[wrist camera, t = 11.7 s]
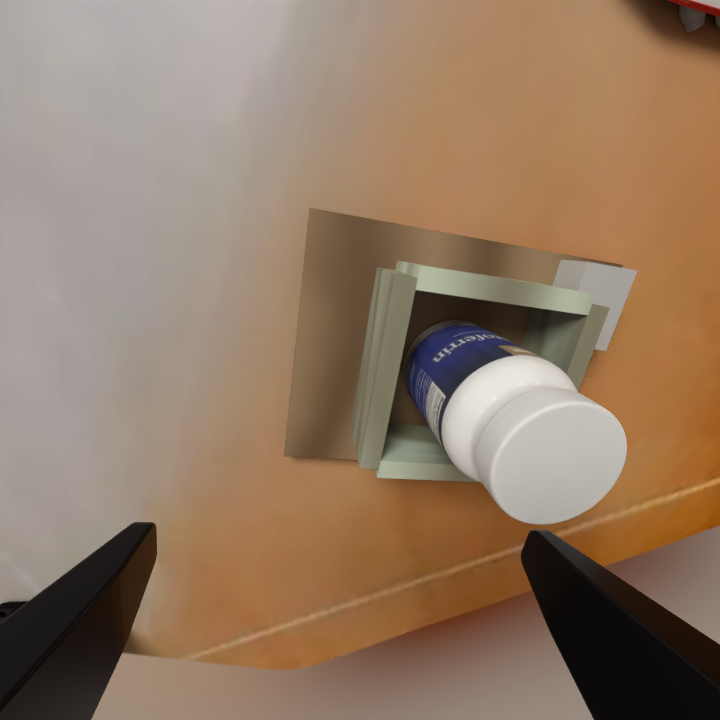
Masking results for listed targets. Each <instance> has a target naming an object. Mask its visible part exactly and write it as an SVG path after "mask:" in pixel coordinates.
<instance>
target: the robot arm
mask: <svg viewBox="0 0 720 720" xmlns="http://www.w3.org/2000/svg"><path fill="white" fill-rule="evenodd" d="M156 556H157V533H156V525H155V524H154V523H153V522H135V523H132V524H131V525H129V526H128V527H127V528H125V529H124V530H123V531H121V532H120V533H119V534H117V535H116V536H115V537H113V538H112V539H111V540H109V541H108V542H107V543H105V544H104V545H103V546H101V547H100V548H99V549H97V550H96V551H95V552H93V553H92V554H91V555H89V556H88V557H87V558H85V559H84V560H83V561H81V562H80V563H79V564H77V565H76V566H75V567H74V568H72V569H71V570H70V571H68V572H67V573H66V574H64V575H63V576H62V577H60V578H59V579H58V580H56V581H55V582H54V583H52V584H51V585H50V586H48V587H47V588H46V589H44V590H43V591H42V592H40V593H39V594H38V595H36V596H35V597H34V598H32V599H31V600H30V601H28V602H14V603H2V604H0V720H91V719H92V717H93V714H94V712H95V710H96V708H97V706H98V704H99V702H100V699H101V697H102V695H103V693H104V691H105V689H106V686H107V684H108V682H109V680H110V678H111V676H112V674H113V671H114V669H115V667H116V665H117V663H118V661H119V658H120V656H121V654H122V652H123V649H124V647H125V644H126V642H127V639H128V637H129V634H130V631H131V628H132V626H133V623H134V620H135V617H136V614H137V612H138V609H139V606H140V603H141V601H142V598H143V595H144V592H145V589H146V587H147V584H148V581H149V578H150V575H151V573H152V570H153V567H154V564H155V561H156ZM521 561H522V565H523V567H524V570H525V572H526V575H527V577H528V580H529V582H530V585H531V587H532V589H533V592H534V594H535V597H536V599H537V602H538V604H539V607H540V609H541V611H542V614H543V617H544V618H545V621H546V623H547V626H548V628H549V630H550V633H551V635H552V637H553V639H554V641H555V643H556V645H557V647H558V649H559V651H560V653H561V655H562V657H563V659H564V661H565V663H566V665H567V667H568V669H569V671H570V673H571V675H572V677H573V679H574V681H575V683H576V685H577V687H578V689H579V691H580V693H581V695H582V697H583V699H584V701H585V703H586V705H587V707H588V709H589V711H590V713H591V715H592V717H593V719H594V720H720V645H719V644H718V643H716V642H715V641H713V640H712V639H710V638H709V637H707V636H706V635H704V634H703V633H701V632H700V631H698V630H697V629H695V628H694V627H692V626H691V625H689V624H688V623H686V622H685V621H683V620H682V619H680V618H679V617H677V616H676V615H674V614H673V613H671V612H670V611H668V610H667V609H665V608H664V607H662V606H661V605H659V604H658V603H656V602H655V601H653V600H651V599H650V598H649V597H647V596H646V595H644V594H643V593H641V592H640V591H638V590H637V589H635V588H634V587H632V586H631V585H629V584H628V583H626V582H625V581H623V580H622V579H620V578H619V577H617V576H616V575H614V574H613V573H611V572H610V571H608V570H607V569H605V568H604V567H602V566H601V565H599V564H598V563H596V562H595V561H593V560H592V559H590V558H589V557H587V556H586V555H584V554H583V553H581V552H580V551H578V550H577V549H575V548H574V547H572V546H571V545H569V544H568V543H566V542H565V541H563V540H562V539H560V538H559V537H557V536H556V535H554V534H553V533H551V532H550V531H548V530H538V529H534V530H531V531H530V532H529V534H528V536H527V539H526V542H525V544H524V547H523V549H522V552H521Z"/></svg>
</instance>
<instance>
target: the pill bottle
mask: <svg viewBox="0 0 720 720" xmlns="http://www.w3.org/2000/svg"><path fill="white" fill-rule="evenodd" d="M403 376H404V382H405V386H406V388H407V391H408V393H409V395H410V396H411V398H412V400H413V401H414V403H415V405H416V406H417V408H418V409H419V411H420V413H421V414H422V416H423V417H424V419H425V420H426V422H427V424H428V425H429V427H430V428H431V430H432V432H433V433H434V435H435V436H436V438H437V440H438V441H439V443H440V444H441V446H442V447H443V449H444V451H445V452H446V454H447V455H448V457H449V458H450V460H451V461H452V462H453V463H454V465H455V466H456V467H457V468H458V469H459V470H460V471H461V472H463V473H464V474H465V475H467V476H468V477H470V478H472V479H474V480H476V481H479V482H481V483H482V484H483V485H484V487H485V488H486V489H487V491H488V492H489V493H490V495H491V496H492V497H493V499H494V500H495V502H496V503H497V504H498V505H499V507H500V508H501V509H502V510H503V511H505V512H506V513H507V514H508V515H509V516H511V517H513V518H514V519H517V520H519V521H522V522H525V523H530V524H554V523H558V522H562V521H565V520H568V519H571V518H574V517H576V516H578V515H580V514H582V513H583V512H585V511H587V510H588V509H590V508H591V507H593V506H594V505H595V504H596V503H598V502H599V501H600V500H601V499H602V498H603V497H604V496H605V495H606V494H607V493H608V492H609V491H610V490H611V488H612V487H613V486H614V484H615V483H616V481H617V479H618V477H619V475H620V473H621V471H622V469H623V466H624V463H625V459H626V453H627V443H626V436H625V433H624V430H623V428H622V426H621V424H620V423H619V421H618V420H617V418H616V417H615V416H614V415H613V414H612V413H611V412H609V411H608V410H607V409H605V408H604V407H602V406H600V405H599V404H597V403H595V402H594V401H592V400H591V399H589V398H587V397H585V396H584V395H582V394H580V393H578V391H577V389H576V387H575V385H574V384H573V382H572V381H571V379H570V378H569V377H568V376H567V374H566V373H565V372H564V371H562V370H561V369H560V368H559V367H557V366H556V365H554V364H553V363H551V362H549V361H547V360H546V359H544V358H542V357H540V356H538V355H536V354H534V353H532V352H530V351H528V350H526V349H524V348H522V347H520V346H518V345H516V344H514V343H512V342H511V341H509V340H506V339H504V338H502V337H500V336H498V335H496V334H494V333H493V332H491V331H489V330H486V329H484V328H482V327H480V326H478V325H476V324H473V323H470V322H467V321H461V320H450V321H445V322H442V323H439V324H436V325H434V326H432V327H430V328H428V329H427V330H425V331H424V332H423V333H422V334H420V335H419V336H418V337H417V338H416V340H415V341H414V342H413V343H412V345H411V347H410V348H409V350H408V353H407V355H406V358H405V362H404V368H403Z"/></svg>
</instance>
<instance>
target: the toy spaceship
mask: <svg viewBox="0 0 720 720" xmlns="http://www.w3.org/2000/svg"><path fill="white" fill-rule="evenodd" d="M667 1H670V2H673V3H676V4H679V15H680V19H681V21H682V23H683V24H685V28H686V32H687V33H689V32H692V31H694V30H696V29H698V28H700V27H701V26H702V25H703V24H704V23H705V14H706V13H708V14H711V15H714V16H715V20H716V24H717V26H718V27H719V28H720V0H667Z"/></svg>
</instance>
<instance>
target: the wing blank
mask: <svg viewBox="0 0 720 720" xmlns="http://www.w3.org/2000/svg"><path fill="white" fill-rule="evenodd" d="M636 273H637V270H631V269H626V268H620V267H615V266H609V265H604V264H598V263H592V262H585V261H572V260H561V261H560V264H559V267H558V270H557V273H556V276H555V279H554V282H553V286H555V287H560V288H566V289H571V290H577V291H582V292H587V293H593V294H596V295H595V298H594V300H593V303H592V304H596V305H600V306H605V307H609V308H610V309H609V312H608V315H607V317H606V320H605V322H604V325H603V328H602V330H601V333H600V336H599V338H598V341H597V344H596V346H595V350H603V351H606V350H607V347H608V345H609V342H610V340H611V337H612V335H613V332H614V329H615V327H616V324H617V322H618V319H619V317H620V314H621V312H622V309H623V306H624V304H625V301H626V299H627V296H628V294H629V291H630V289H631V286H632V283H633V281H634V278H635V276H636Z"/></svg>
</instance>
